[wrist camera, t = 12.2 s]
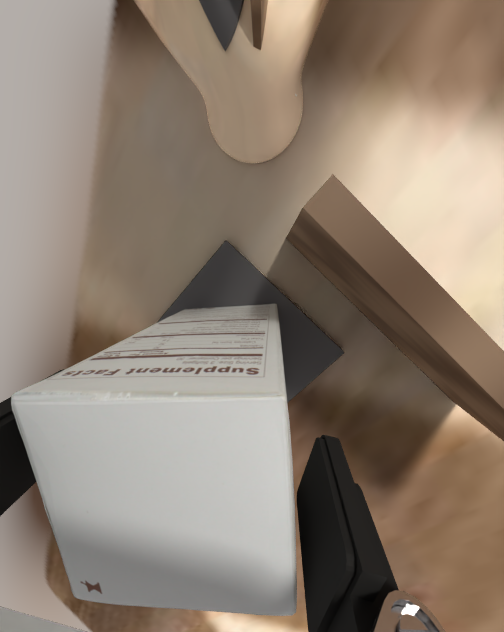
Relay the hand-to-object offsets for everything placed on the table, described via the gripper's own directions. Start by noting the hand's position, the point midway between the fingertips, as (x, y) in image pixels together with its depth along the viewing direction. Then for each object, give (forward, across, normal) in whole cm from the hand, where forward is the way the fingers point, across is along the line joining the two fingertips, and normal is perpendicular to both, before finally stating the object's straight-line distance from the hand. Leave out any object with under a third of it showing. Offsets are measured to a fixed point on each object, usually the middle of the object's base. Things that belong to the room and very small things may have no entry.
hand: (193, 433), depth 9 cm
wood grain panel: (+10, -10, -4) cm, 15 cm away
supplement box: (+10, 0, 0) cm, 10 cm away
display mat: (+10, 0, +1) cm, 10 cm away
